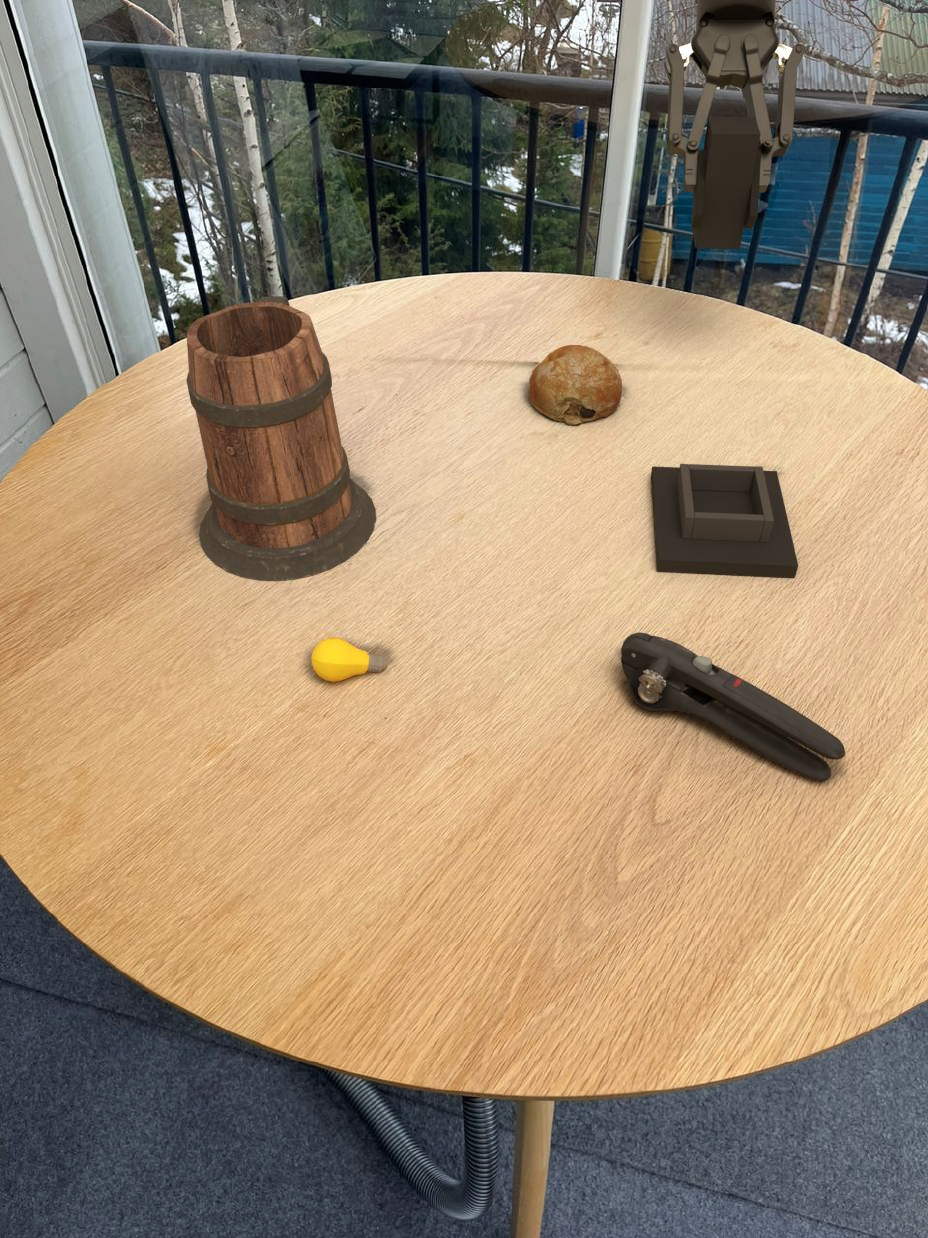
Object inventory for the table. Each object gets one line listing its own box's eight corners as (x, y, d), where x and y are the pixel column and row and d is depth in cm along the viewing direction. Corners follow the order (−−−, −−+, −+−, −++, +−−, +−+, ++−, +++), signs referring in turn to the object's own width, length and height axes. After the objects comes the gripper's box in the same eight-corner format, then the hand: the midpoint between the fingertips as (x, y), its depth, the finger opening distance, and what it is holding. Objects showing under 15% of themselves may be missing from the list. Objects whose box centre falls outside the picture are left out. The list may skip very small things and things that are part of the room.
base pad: (773, 483, 92) (782, 448, 90) (795, 578, 82) (805, 543, 80) (650, 478, 93) (655, 444, 91) (656, 572, 83) (662, 537, 81)
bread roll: (535, 450, 104) (546, 409, 96) (515, 372, 107) (524, 327, 99) (621, 437, 105) (638, 396, 97) (599, 361, 108) (614, 315, 101)
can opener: (596, 694, 73) (602, 645, 70) (644, 644, 77) (653, 594, 73) (809, 816, 65) (830, 768, 61) (852, 753, 69) (873, 704, 65)
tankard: (370, 578, 84) (344, 378, 70) (182, 583, 84) (119, 384, 70) (384, 431, 101) (366, 246, 87) (227, 435, 101) (183, 252, 87)
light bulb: (307, 666, 76) (313, 627, 75) (380, 673, 78) (387, 635, 76) (309, 687, 73) (315, 647, 72) (384, 694, 75) (392, 655, 73)
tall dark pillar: (735, 229, 100) (754, 116, 92) (740, 249, 96) (760, 133, 88) (692, 228, 100) (708, 116, 92) (695, 248, 96) (712, 133, 89)
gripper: (651, -38, 90) (637, 204, 90) (839, -41, 89) (826, 206, 88) (643, 12, 98) (631, 236, 98) (817, 11, 96) (804, 239, 96)
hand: (723, 221), depth 93 cm, fingers closed on tall dark pillar, 4 cm apart
